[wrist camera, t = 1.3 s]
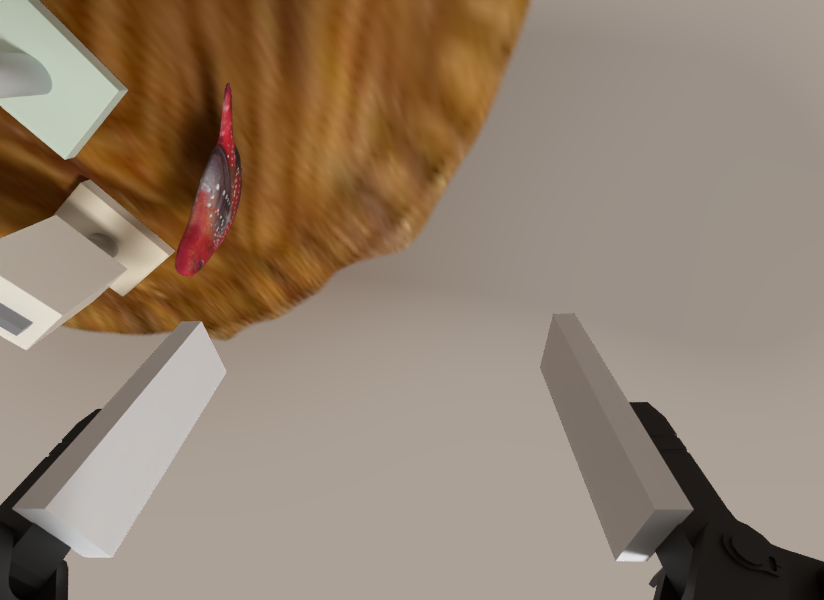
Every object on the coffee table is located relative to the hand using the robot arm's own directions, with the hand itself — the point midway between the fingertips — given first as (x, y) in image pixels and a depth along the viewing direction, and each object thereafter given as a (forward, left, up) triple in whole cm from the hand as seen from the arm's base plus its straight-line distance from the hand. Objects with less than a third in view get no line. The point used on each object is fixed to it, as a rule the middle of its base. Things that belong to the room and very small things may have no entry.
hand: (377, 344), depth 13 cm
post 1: (-25, -21, -26) cm, 42 cm away
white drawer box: (-13, -32, -21) cm, 41 cm away
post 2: (-13, -32, -26) cm, 43 cm away
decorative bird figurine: (-9, -14, -26) cm, 31 cm away
